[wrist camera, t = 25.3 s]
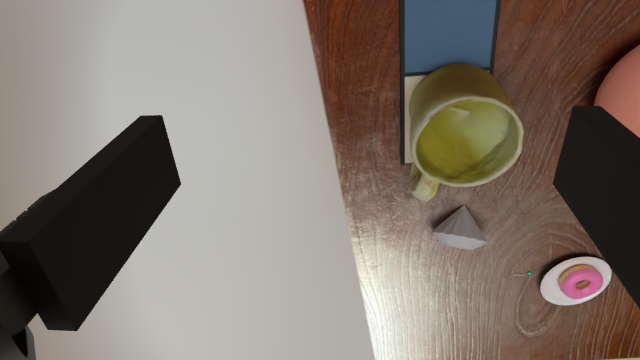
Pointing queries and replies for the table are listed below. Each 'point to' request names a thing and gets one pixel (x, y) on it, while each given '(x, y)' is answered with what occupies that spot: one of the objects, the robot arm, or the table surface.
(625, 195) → the robot arm
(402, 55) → the sorting mat
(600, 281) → the donut
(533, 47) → the table surface
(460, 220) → the gemstone
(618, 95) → the sugar bowl
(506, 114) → the mug
